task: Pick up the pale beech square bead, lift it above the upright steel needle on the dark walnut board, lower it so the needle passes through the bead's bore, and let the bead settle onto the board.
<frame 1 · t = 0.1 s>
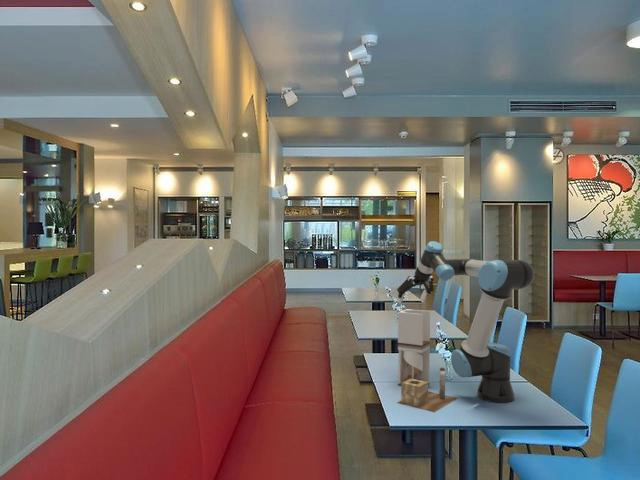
hand: (410, 301, 264), 36 cm above the table, tool tilted 35°, fingers open, 13 cm apart
bead: (414, 401, 214), point 1 cm above the table, touching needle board
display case: (413, 387, 238), on the table
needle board: (427, 403, 216), on the table
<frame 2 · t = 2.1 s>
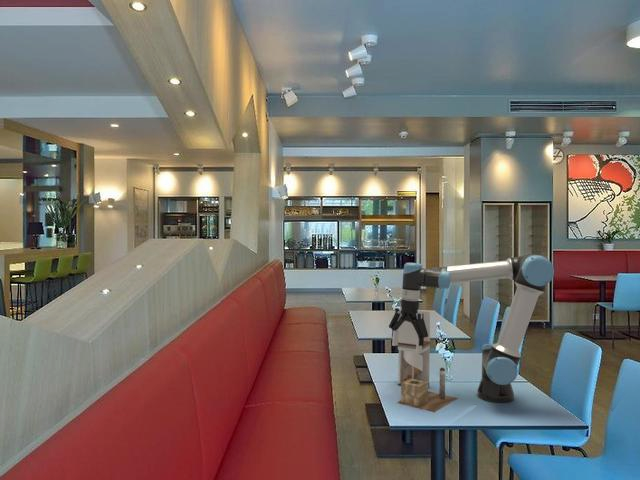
hand: (406, 349, 219), 22 cm above the table, tool pointing down, fingers open, 13 cm apart
nothing on the table moved.
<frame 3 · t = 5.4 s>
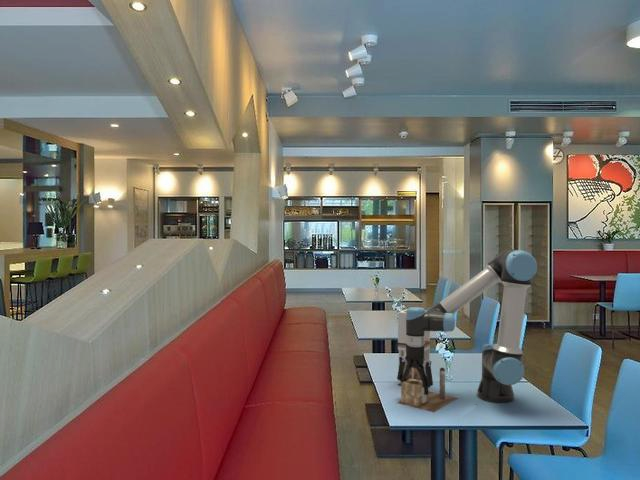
hand: (414, 399, 214), 2 cm above the table, tool pointing down, fingers closed on bead, 8 cm apart
bead: (414, 401, 214), point 2 cm above the table, touching gripper, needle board
everything else where it was.
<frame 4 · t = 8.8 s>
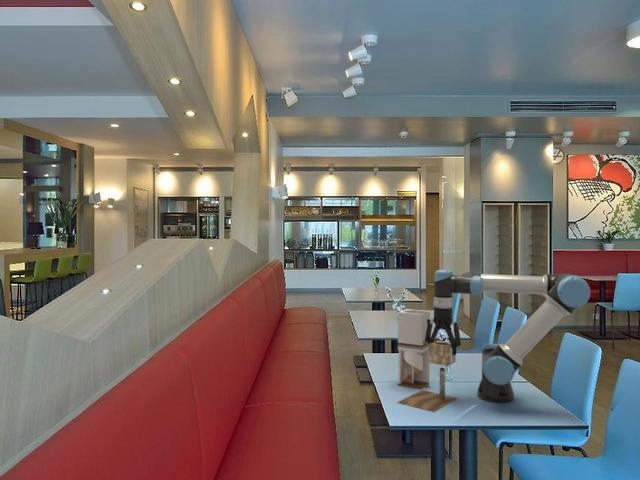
hand: (442, 360, 218), 18 cm above the table, tool pointing down, fingers closed on bead, 8 cm apart
bead: (442, 362, 218), point 17 cm above the table, touching gripper
everything else where it was.
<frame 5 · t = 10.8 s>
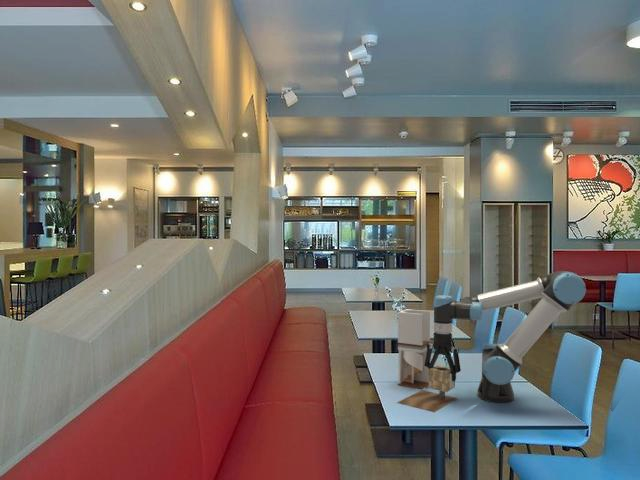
hand: (441, 386, 218), 7 cm above the table, tool pointing down, fingers closed on bead, 8 cm apart
bead: (441, 387, 218), point 6 cm above the table, touching gripper
everything else where it was.
when the fingers open (4 cm above the table, at t = 12.5 s): bead drops 2 cm, resting on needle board.
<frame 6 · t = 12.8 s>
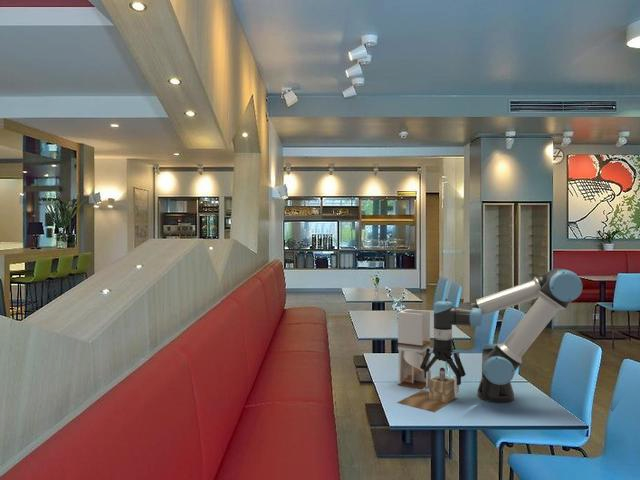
hand: (442, 389, 218), 5 cm above the table, tool pointing down, fingers open, 12 cm apart
bead: (442, 398, 218), point 1 cm above the table, touching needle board
everything else where it was.
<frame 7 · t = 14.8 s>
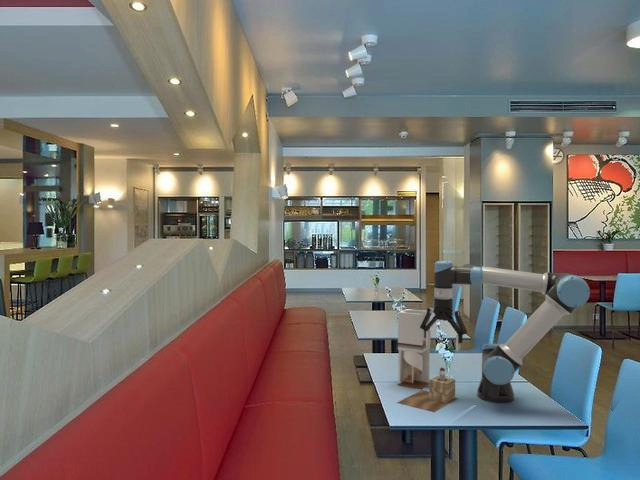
hand: (442, 348, 218), 23 cm above the table, tool pointing down, fingers open, 13 cm apart
nothing on the table moved.
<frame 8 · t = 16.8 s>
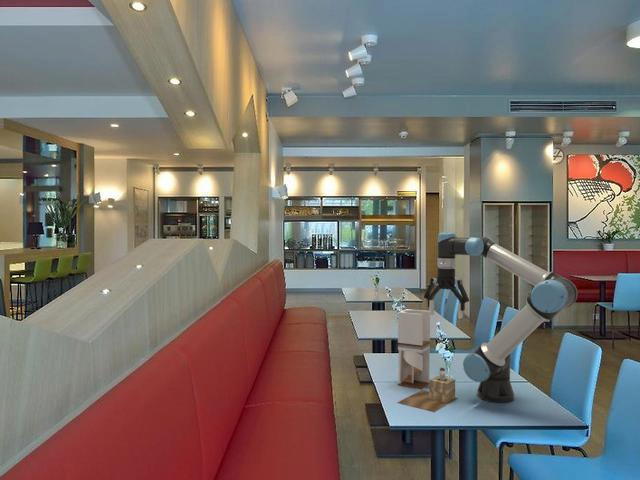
hand: (445, 316, 227), 35 cm above the table, tool pointing down, fingers open, 13 cm apart
nothing on the table moved.
at the end: bead 0.0 cm from the target spot, point 1.5 cm above the table; the gripper is holding nothing; bead tilted 0° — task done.
